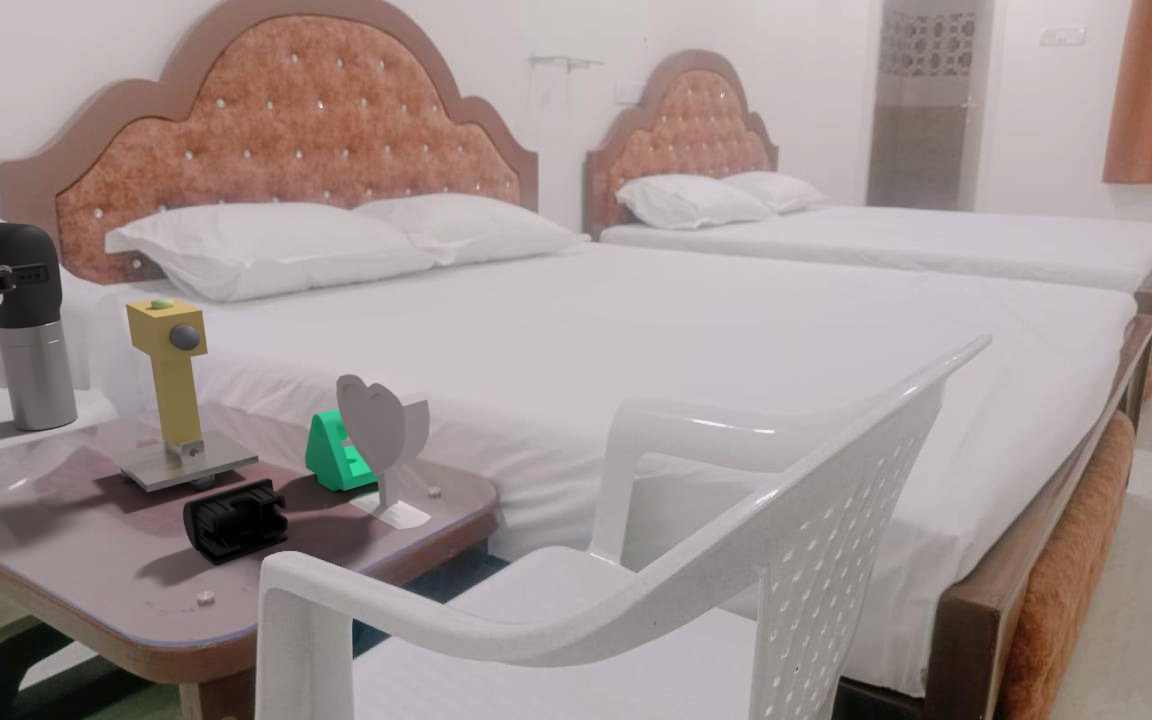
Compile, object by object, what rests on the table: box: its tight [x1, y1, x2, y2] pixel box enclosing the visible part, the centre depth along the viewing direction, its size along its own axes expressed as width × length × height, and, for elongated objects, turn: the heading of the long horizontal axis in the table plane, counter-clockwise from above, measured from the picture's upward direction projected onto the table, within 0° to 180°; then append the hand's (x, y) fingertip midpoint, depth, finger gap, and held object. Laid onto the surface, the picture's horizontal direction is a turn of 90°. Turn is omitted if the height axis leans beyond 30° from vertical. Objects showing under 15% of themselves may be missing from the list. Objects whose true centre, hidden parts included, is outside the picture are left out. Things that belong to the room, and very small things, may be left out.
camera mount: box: [304, 408, 378, 492], centre depth 123 cm, size 12×8×10 cm, turn 40°
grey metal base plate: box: [111, 428, 259, 493], centre depth 127 cm, size 15×15×6 cm
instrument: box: [125, 297, 209, 446], centre depth 123 cm, size 16×6×20 cm, turn 42°
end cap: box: [182, 477, 289, 567], centre depth 106 cm, size 10×7×7 cm
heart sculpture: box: [335, 368, 433, 530], centre depth 113 cm, size 16×5×18 cm, turn 45°
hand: (47, 272), depth 111 cm, fingers closed
